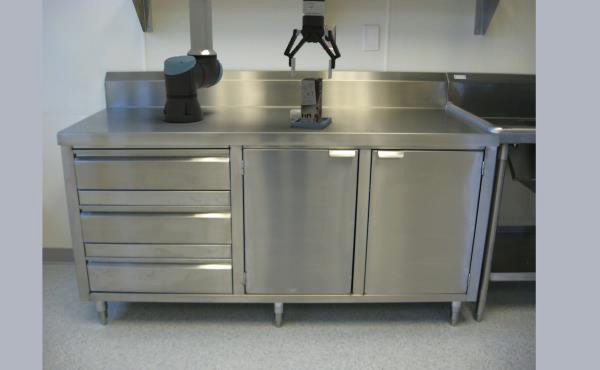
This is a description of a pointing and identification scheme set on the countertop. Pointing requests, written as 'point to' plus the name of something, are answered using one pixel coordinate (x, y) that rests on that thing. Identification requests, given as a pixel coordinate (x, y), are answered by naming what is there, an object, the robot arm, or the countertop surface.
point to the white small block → (295, 113)
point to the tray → (321, 125)
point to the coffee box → (311, 100)
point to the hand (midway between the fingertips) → (311, 77)
